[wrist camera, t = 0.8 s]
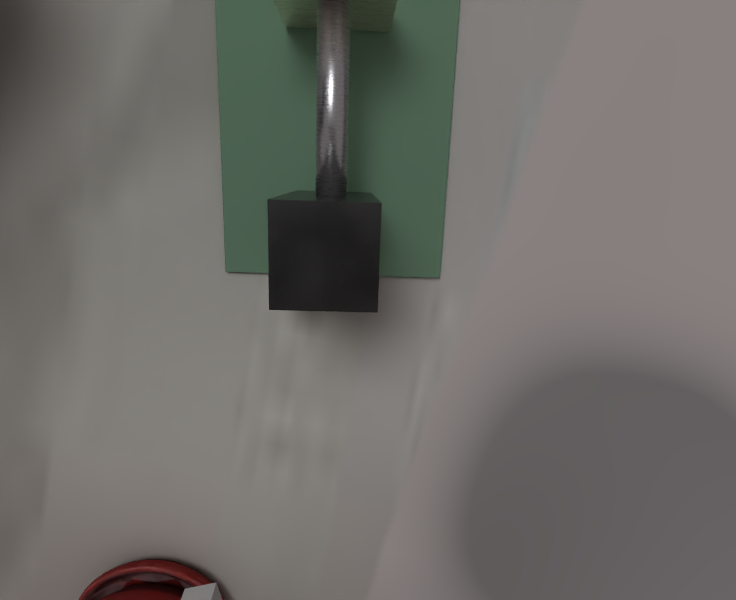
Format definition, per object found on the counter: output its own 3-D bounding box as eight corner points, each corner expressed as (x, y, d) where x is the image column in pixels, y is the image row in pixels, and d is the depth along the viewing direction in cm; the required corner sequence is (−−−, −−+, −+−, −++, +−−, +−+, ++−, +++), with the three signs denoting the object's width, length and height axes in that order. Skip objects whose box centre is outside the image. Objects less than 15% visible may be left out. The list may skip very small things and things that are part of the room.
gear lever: (379, 265, 32) (393, 312, 21) (286, 262, 32) (252, 309, 21) (390, -1, 28) (414, -110, 17) (284, -7, 28) (241, -120, 17)
